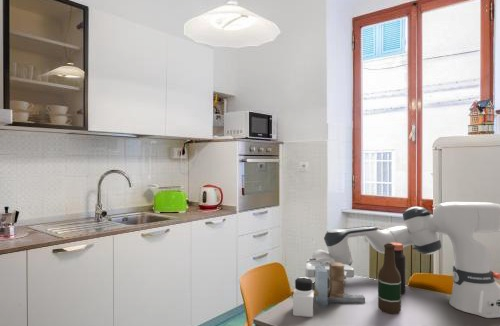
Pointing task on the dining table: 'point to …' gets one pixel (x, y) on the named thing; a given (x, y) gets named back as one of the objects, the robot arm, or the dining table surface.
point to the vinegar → (400, 264)
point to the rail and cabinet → (321, 290)
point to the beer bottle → (389, 283)
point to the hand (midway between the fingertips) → (332, 277)
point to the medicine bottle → (303, 298)
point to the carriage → (336, 280)
